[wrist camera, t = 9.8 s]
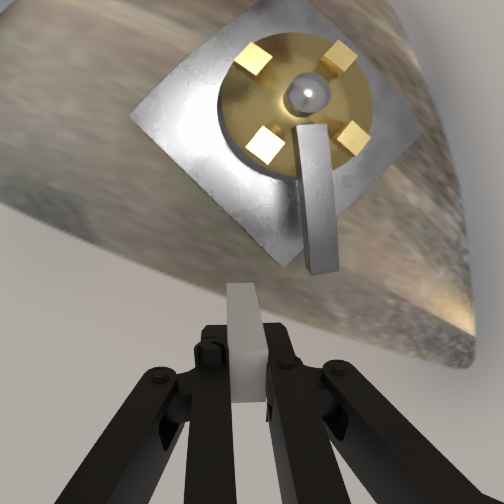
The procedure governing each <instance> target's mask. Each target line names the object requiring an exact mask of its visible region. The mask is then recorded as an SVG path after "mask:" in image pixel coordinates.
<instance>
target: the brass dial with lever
mask: <svg viewBox="0 0 504 504" xmlns="http://www.w3.org/2000/svg"><path fill="white" fill-rule="evenodd" d="M357 57H358V55H357V54H355V53H354V52H353V51H352V50H351V49H349V48H348V47H347V46H346V45H345V44H343V43H342V42H341V41H340V40H337V41H336V43H335V44H333V43H331V42H330V41H328V40H325V39H323V38H321V37H318V36H314V35H311V34H305V33H297V32H288V33H279V34H274V35H270V36H267V37H265V38H262V39H260V40H258V41H256V42H254V43H252V42H250V43H249V44H248V45H247V47H246V48H245V49H244V50H243V51H242V52H241V53H240V54H239V55H238V56H237V57H236V58H235V60H234V61H233V63H232V65H231V66H230V68H229V70H228V72H227V74H226V77H225V79H224V84H223V88H222V98H221V99H222V110H223V115H224V120H225V124H226V127H227V130H228V132H229V134H230V136H231V138H232V140H233V141H234V143H235V144H236V146H237V147H238V148H239V149H240V151H241V152H242V153H243V154H244V155H245V156H246V157H248V158H249V159H250V160H251V161H253V162H254V163H256V164H257V165H259V166H261V167H263V168H265V169H267V170H270V171H273V172H276V173H280V174H285V175H289V176H297V183H298V192H299V202H300V212H301V222H302V233H303V244H304V256H305V266H306V268H307V269H308V271H309V272H310V274H311V275H317V274H323V273H330V272H336V271H339V258H338V238H337V222H336V209H335V196H334V185H333V174H332V171H333V170H335V169H337V168H339V167H341V166H342V165H344V164H346V163H347V162H348V161H349V160H351V159H352V158H353V157H356V156H357V155H358V154H359V153H360V151H361V150H362V149H363V147H364V146H365V145H366V143H367V142H368V141H369V140H370V138H371V137H370V136H369V135H368V134H369V131H370V128H371V124H372V119H373V101H372V95H371V91H370V88H369V85H368V82H367V80H366V78H365V76H364V74H363V72H362V71H361V69H360V68H359V66H358V65H357V63H356V62H355V61H354V60H355V59H356V58H357Z"/></svg>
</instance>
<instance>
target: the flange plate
mask: <svg viewBox="0 0 504 504" xmlns="http://www.w3.org/2000/svg"><path fill="white" fill-rule="evenodd" d="M288 32H297V33H305V34H311V35H314V36H318V37H321V38H323V39H325V40H328V41H330V42H331V43H333V44H335V43H336V41H337V40H340V41H341V42H342V43H343V44H345V45H346V46H347V47H348V48H349V49H351V50H352V51H353V52H354V53H355V54H357V55H358V57H357V58H356V59H355V60H354V61H355V62H356V63H357V65H358V66H359V68H360V69H361V71H362V72H363V74H364V76H365V78H366V80H367V82H368V85H369V88H370V91H371V95H372V101H373V119H372V124H371V128H370V131H369V134H368V135H369V136H370V137H371V138H370V140H369V141H368V142H367V143H366V145H365V146H364V147H363V149H362V150H361V151H360V153H359V154H358V155H357V156H356V157H353V158H352V159H351V160H349V161H348V162H347V163H346V164H344V165H342V166H341V167H339V168H337V169H335V170H333V171H332V174H333V185H334V196H335V209H336V218H337V217H338V216H339V215H340V214H341V213H342V212H343V211H344V210H345V209H346V208H347V207H349V206H350V205H351V204H352V203H353V202H354V201H355V200H356V199H357V198H358V197H359V196H360V195H361V194H362V193H363V192H364V191H365V190H366V189H367V188H368V187H369V186H370V185H371V184H372V183H373V182H374V181H375V180H376V179H377V178H378V177H379V176H380V175H381V174H382V173H383V172H384V171H385V170H386V169H387V168H388V167H389V166H390V165H391V164H392V163H393V162H394V161H395V160H396V159H397V158H398V157H399V156H400V155H401V154H402V153H403V152H404V151H405V150H406V149H407V148H408V147H409V146H410V145H411V144H412V143H413V142H414V141H415V140H416V139H417V138H418V137H419V136H420V135H421V134H422V133H423V132H424V131H425V130H424V128H423V127H422V126H421V124H420V123H419V121H418V120H417V119H416V117H415V116H414V115H413V113H412V112H411V111H410V109H409V108H408V107H407V105H406V104H405V103H404V101H403V100H402V99H401V97H400V96H399V95H398V94H397V92H396V91H395V90H394V89H393V87H392V86H391V85H390V84H389V83H388V81H387V80H386V79H385V78H384V77H383V75H382V74H381V73H380V72H379V71H378V70H377V69H376V67H375V66H374V65H373V64H372V63H371V62H370V61H369V60H368V59H367V57H366V56H365V55H364V54H363V53H362V52H361V51H360V50H359V49H358V48H357V47H356V46H355V45H354V44H353V43H352V42H351V41H350V40H349V39H348V38H347V37H346V36H345V35H344V34H343V33H342V32H341V31H340V30H339V29H338V28H337V27H336V26H335V25H334V24H333V23H332V22H331V21H330V20H329V19H328V18H327V17H326V16H324V15H323V14H322V13H321V12H320V11H319V10H318V9H317V8H316V7H314V6H313V5H312V4H311V3H310V2H309V1H307V0H261V1H259V2H258V3H256V4H255V5H254V6H252V7H251V8H249V9H248V10H246V11H245V12H244V13H242V14H241V15H240V16H238V17H237V18H236V19H234V20H233V21H232V22H230V23H229V24H228V25H226V26H225V27H224V28H222V29H221V30H220V31H219V32H217V33H216V34H215V35H214V36H212V37H211V38H210V39H209V40H207V41H206V42H205V43H204V44H203V45H201V46H200V47H199V48H198V49H197V50H196V51H194V52H193V53H192V54H191V55H190V56H189V57H188V58H186V59H185V60H184V61H183V62H182V63H181V64H180V65H179V66H178V67H177V68H175V69H174V70H173V71H172V72H171V73H170V74H169V75H168V76H167V77H166V78H165V79H164V80H163V81H162V82H161V83H160V84H159V85H158V86H157V87H156V88H155V89H154V90H153V91H152V92H151V93H150V94H149V95H148V96H147V97H146V98H145V99H144V100H143V101H142V102H141V103H140V104H139V105H138V106H137V107H136V108H135V109H134V110H133V111H132V113H131V114H130V115H129V117H130V118H131V119H132V120H133V121H134V122H135V123H136V124H137V125H138V126H139V127H140V128H141V129H142V130H143V131H144V132H145V133H146V134H147V135H149V136H150V137H151V138H152V139H153V140H154V141H155V142H156V143H157V144H158V145H159V146H160V147H161V148H162V149H163V150H164V151H165V152H166V153H167V154H168V155H169V156H170V157H171V158H172V159H173V160H174V161H175V162H176V163H177V164H178V165H179V166H180V167H181V168H182V169H183V170H184V171H185V172H186V173H187V174H189V175H190V176H191V177H192V178H193V179H194V180H195V181H196V182H197V183H198V184H199V185H200V186H201V187H202V188H203V189H204V190H205V191H206V192H207V193H208V194H209V195H210V196H211V197H212V198H213V199H214V200H215V201H216V202H217V203H218V204H219V205H220V206H221V207H222V208H223V209H224V210H225V211H226V212H227V213H228V214H229V215H230V216H231V217H232V218H233V219H234V220H235V221H236V222H237V223H238V224H239V225H240V226H241V227H242V228H243V229H244V230H245V231H246V232H247V233H248V234H249V235H250V236H251V237H252V238H253V239H254V240H255V241H256V242H257V243H258V244H259V245H260V246H261V247H262V248H263V249H264V250H265V251H266V252H267V253H268V254H269V255H270V256H271V257H272V258H273V259H274V260H275V261H276V262H277V263H278V264H279V265H280V266H281V267H282V268H284V267H285V266H286V265H287V264H288V263H289V262H290V261H291V260H292V259H294V258H295V257H296V256H297V255H298V254H299V253H300V252H301V251H302V250H303V249H304V244H303V233H302V222H301V212H300V202H299V192H298V183H297V176H289V175H285V174H280V173H276V172H273V171H270V170H267V169H265V168H263V167H261V166H259V165H257V164H256V163H254V162H253V161H251V160H250V159H249V158H248V157H246V156H245V155H244V154H243V153H242V152H241V151H240V149H239V148H238V147H237V146H236V144H235V143H234V141H233V140H232V138H231V136H230V134H229V132H228V130H227V127H226V124H225V120H224V115H223V110H222V99H221V98H222V88H223V84H224V79H225V77H226V74H227V72H228V70H229V68H230V66H231V65H232V63H233V61H234V60H235V58H236V57H237V56H238V55H239V54H240V53H241V52H242V51H243V50H244V49H245V48H246V47H247V45H248V44H249V43H250V42H252V43H254V42H256V41H258V40H260V39H262V38H265V37H267V36H270V35H274V34H279V33H288Z"/></svg>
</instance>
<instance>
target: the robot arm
mask: <svg viewBox="0 0 504 504" xmlns="http://www.w3.org/2000/svg"><path fill="white" fill-rule="evenodd" d="M194 357H195V366H196V367H195V368H194V369H192V370H190V371H188V372H185V373H181V374H176V372H175V371H174V370H172V369H171V368H168V367H154V368H152V369H149V370H148V371H147V372H146V373H144V375H143V376H142V378H141V379H140V380H139V382H138V383H137V385H136V386H135V387H134V389H133V390H132V392H131V393H130V394H129V396H128V397H127V399H126V400H125V402H124V403H123V405H122V406H121V407H120V409H119V410H118V411H117V413H116V414H115V416H114V417H113V419H112V420H111V422H110V423H109V424H108V426H107V427H106V429H105V430H104V431H103V433H102V435H101V436H100V437H99V439H98V440H97V442H96V443H95V444H94V446H93V447H92V449H91V450H90V452H89V453H88V455H87V456H86V458H85V459H84V461H83V462H82V463H81V465H80V466H79V468H78V469H77V471H76V472H75V473H74V475H73V476H72V478H71V479H70V481H69V482H68V484H67V485H66V487H65V488H64V490H63V491H62V493H61V494H60V496H59V497H58V499H57V500H56V502H55V503H54V504H148V503H149V501H150V499H151V497H152V495H153V492H154V490H155V488H156V486H157V484H158V482H159V479H160V477H161V475H162V473H163V471H164V469H165V467H166V464H167V462H168V460H169V458H170V456H171V454H172V451H173V449H174V447H175V445H176V443H177V441H178V438H179V436H180V434H181V432H182V429H183V427H184V424H185V422H188V421H190V426H189V437H188V449H187V461H186V475H185V490H184V504H237V499H236V484H235V468H234V452H233V432H232V412H231V403H245V402H265V401H266V397H267V413H266V414H267V415H266V422H269V426H270V433H271V439H272V445H273V451H274V457H275V463H276V469H277V474H278V481H279V487H280V493H281V498H282V504H351V502H350V499H349V496H348V493H347V490H346V487H345V484H344V481H343V478H342V475H341V472H340V469H339V466H338V463H337V460H336V458H335V455H334V452H333V449H332V446H331V444H330V441H331V442H332V443H333V445H334V446H335V448H336V449H337V450H338V452H339V453H340V454H341V456H342V457H343V459H344V460H345V461H346V463H347V464H348V465H349V467H350V468H351V469H352V471H353V472H354V474H355V475H356V476H357V478H358V479H359V480H360V482H361V483H362V484H363V486H364V487H365V488H366V490H367V491H368V492H369V494H370V495H371V496H372V498H373V499H374V500H375V502H376V503H377V504H504V503H503V502H500V501H498V500H496V499H494V498H491V497H489V496H487V495H485V494H482V493H481V492H480V491H479V490H478V489H477V488H476V487H475V486H474V485H473V484H472V483H471V482H470V481H469V480H468V479H467V478H466V477H465V476H464V475H463V474H462V473H461V472H460V471H459V470H458V469H456V467H455V466H454V465H453V464H452V463H451V462H449V460H448V459H446V457H444V456H443V455H442V454H441V453H440V452H439V451H438V450H437V449H436V448H435V447H434V446H433V445H432V444H431V443H430V442H429V441H428V440H427V439H426V438H425V437H424V436H423V435H422V434H421V433H420V432H419V431H418V430H417V429H416V428H415V427H414V426H413V425H412V424H411V423H410V422H409V421H408V420H407V419H406V418H405V417H404V416H403V415H402V414H401V413H400V412H399V411H398V410H397V409H396V408H395V407H394V406H393V405H392V404H391V403H390V402H389V401H388V400H387V399H386V398H385V397H384V396H383V395H382V394H381V393H380V392H379V391H378V390H377V389H376V388H375V387H374V386H373V385H372V384H371V383H370V382H369V381H368V380H367V379H366V378H365V377H364V376H363V375H362V374H361V373H360V372H359V371H358V370H357V369H356V368H355V367H354V366H353V365H352V364H350V363H349V362H346V361H344V360H330V361H328V362H326V363H325V364H324V365H323V368H314V367H308V366H305V365H303V362H302V361H301V359H300V358H298V357H297V356H295V353H294V350H293V347H292V344H291V341H290V338H289V335H288V332H287V329H286V327H285V326H284V325H282V324H281V323H262V319H261V314H260V310H259V305H258V300H257V296H256V291H255V286H254V283H227V325H206V326H205V328H204V329H203V330H202V333H201V342H199V343H198V344H197V345H195V347H194ZM329 439H330V440H329Z"/></svg>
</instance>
